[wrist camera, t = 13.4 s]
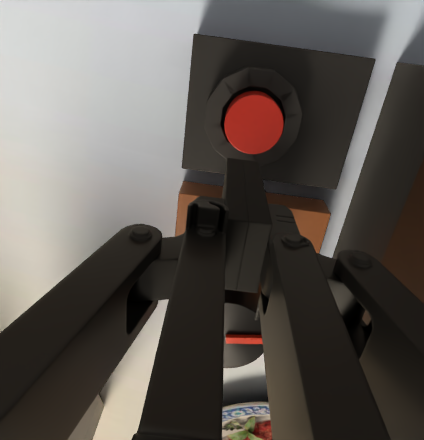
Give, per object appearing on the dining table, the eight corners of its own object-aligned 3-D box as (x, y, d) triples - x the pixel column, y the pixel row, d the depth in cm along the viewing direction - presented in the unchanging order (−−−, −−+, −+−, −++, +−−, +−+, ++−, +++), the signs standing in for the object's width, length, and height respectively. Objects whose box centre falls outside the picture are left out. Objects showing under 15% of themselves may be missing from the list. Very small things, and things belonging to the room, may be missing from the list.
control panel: (173, 278, 38) (168, 297, 35) (182, 180, 33) (177, 193, 30) (295, 294, 38) (300, 315, 35) (323, 199, 33) (331, 214, 30)
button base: (185, 159, 32) (178, 176, 28) (196, 34, 27) (190, 32, 23) (329, 179, 32) (342, 199, 28) (364, 57, 27) (387, 60, 23)
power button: (221, 142, 27) (220, 150, 25) (229, 87, 25) (228, 90, 23) (274, 150, 27) (277, 158, 25) (285, 94, 25) (289, 98, 23)
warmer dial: (196, 286, 34) (183, 371, 25) (192, 232, 32) (176, 305, 23) (259, 287, 34) (268, 372, 25) (260, 231, 31) (271, 305, 22)
